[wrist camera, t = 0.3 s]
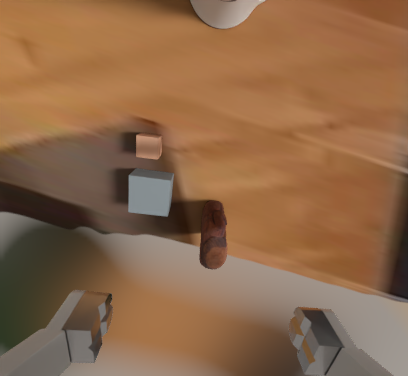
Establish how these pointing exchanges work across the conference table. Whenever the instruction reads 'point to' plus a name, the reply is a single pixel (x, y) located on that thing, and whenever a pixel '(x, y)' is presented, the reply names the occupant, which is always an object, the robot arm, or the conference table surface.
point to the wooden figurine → (213, 236)
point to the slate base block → (150, 192)
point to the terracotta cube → (148, 145)
